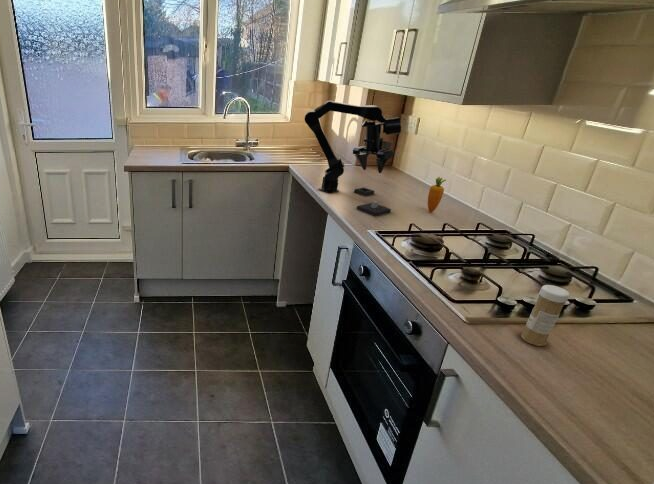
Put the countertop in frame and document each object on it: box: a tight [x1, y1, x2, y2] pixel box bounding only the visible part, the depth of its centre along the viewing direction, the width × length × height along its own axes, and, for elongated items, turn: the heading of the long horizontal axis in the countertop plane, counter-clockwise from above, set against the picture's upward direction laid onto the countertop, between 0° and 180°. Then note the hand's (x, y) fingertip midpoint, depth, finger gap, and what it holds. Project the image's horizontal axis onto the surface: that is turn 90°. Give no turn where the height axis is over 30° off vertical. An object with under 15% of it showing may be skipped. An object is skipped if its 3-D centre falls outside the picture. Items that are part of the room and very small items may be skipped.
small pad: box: [353, 186, 375, 197], centre depth 190 cm, size 6×6×2 cm
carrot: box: [427, 176, 447, 214], centre depth 165 cm, size 5×5×15 cm
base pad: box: [356, 200, 392, 217], centre depth 169 cm, size 9×9×4 cm
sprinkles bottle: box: [520, 284, 570, 347], centre depth 91 cm, size 5×5×13 cm
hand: (372, 171), depth 185 cm, fingers open, 9 cm apart
